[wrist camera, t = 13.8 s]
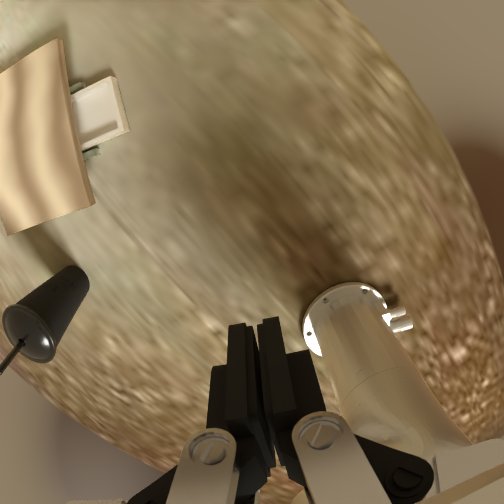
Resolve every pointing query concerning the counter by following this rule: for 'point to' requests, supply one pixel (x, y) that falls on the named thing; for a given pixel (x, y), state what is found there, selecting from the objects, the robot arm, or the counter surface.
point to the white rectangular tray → (99, 113)
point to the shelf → (40, 142)
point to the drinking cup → (44, 316)
